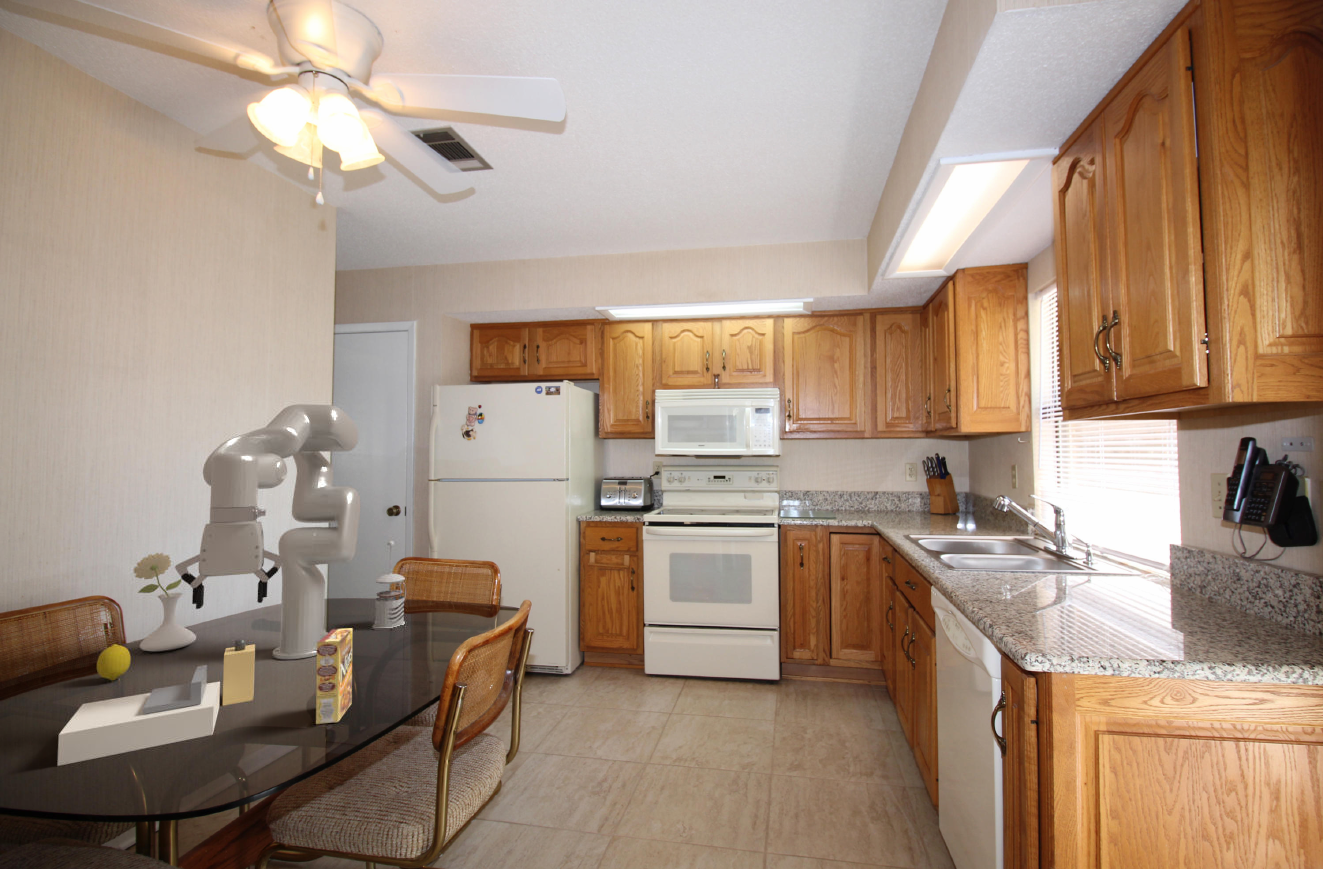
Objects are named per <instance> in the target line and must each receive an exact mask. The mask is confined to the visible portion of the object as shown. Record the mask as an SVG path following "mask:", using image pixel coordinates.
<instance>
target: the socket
mask: <svg viewBox="0 0 1323 869" xmlns="http://www.w3.org/2000/svg"><path fill="white" fill-rule="evenodd" d="M220 691H221V681H215V682H210V683H207V684H206V689H205V692H204V695H203V698H202V702H201V704H197V705H191V706H186V707H180V708H174V709H169V710H163V711H158V712H152V713H146V714H143V707H144V705H145V703H146V702H147V700H148V698H149V696H150V694H151V692H148V693H142V694H135V695H130V696H124V697H117V698H112V699H111V698H110V699H105V700H99V701H98V700H97V701H93V702H87V703H82V704H81V705H80V707H79V708H78V709H77V711H76V712H75V713H74V715H73V716H72V717H71V718H70V720H69V721H68V722H67V723H66V725H65V726H64V727H63V728H62V730H61V731H60V733H58V745H57V746H58V748H57V767H59V766H60V767H61V766H64V765H69V764H74V763H79V762H83V761H89V760H95V759H98V758H104V757H109V756H114V755H119V754H124V753H128V752H129V753H130V752H134V751H139V750H144V749H147V748H153V747H154V748H155V747H158V746H163V745H167V744H169V745H170V744H172V743H177V742H183V741H188V740H193V739H197V738H198V739H199V738H203V737H207V736H213V734H214V730H215V726H216V722H217V719H218V714H219V710H220V698H221V697H220V695H221V694H220V693H221V692H220Z"/></svg>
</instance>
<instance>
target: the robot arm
mask: <svg viewBox="0 0 1323 869" xmlns="http://www.w3.org/2000/svg"><path fill="white" fill-rule="evenodd" d="M358 442H359V430H358V427H357V425H356V423H355V422H354V421H353V420H352V419H351V418H350V416H349V415H348V414H347V413H346V412H345V411H343V409H341V408H339V407H337V406H335V405H332V404H307V403H306V404H305V403H303V404H301V403H299V404H292V405H289V406H287V407H285V408H283V409H282V410H280V411H279V413H278V414H277V415H276V416H275V417H273V419H272V420H271V421H270V422H269V423H268V424H267V425H266V426H265V427H262V428H258V429H255V430H252V431H249V432H247V433H243V434H241V435H238V436H234V437H232V438H228V439H227V440H226V441H224V442H223V443H220V445H218V446H217V447H216V449H214V450H213V451H212V452H211V454H210V455H209V456H208V457H207V458H206V461H205V463H204V464H203V469H202V475H203V480H204V482H205V483H206V484H207V485H208V486H209V487H210V504H209V507H210V508H209V523H205V524H204V527H203V530H202V531H203V532H202V536H201V542H200V549H199V554H196V555H194V556H192V557H190V558H188V559H185V560H183V561H181V562H179V563H177V564H176V565H175V567H174V568H175V570H176V571H177V573H178V575H179V576H180V579H182V580H181V581H184V582H185V583H187V584H188V585H189V586H190V587H191V589H192V599H191V600H192V601H191V603H192V605H195V610H199V609H201V608H203V606H204V603H205V602H204V601H205V600H204V598H205V597H204V596H205V585H204V584H203V582H204V581H205V580H206V579H207V578H208V577H209V578H211V577H224V576H238V575H248V574H249V575H250V574H254V576H256V577H257V578H258V579H259V581H258V583H257V603H258V604H262V603H263V601H264V599H265V598H267V597H268V582H269V581H270V579H272V578H273V576H275V575H276V574H277V573H278V572H279V570H280V568H281V602H280V603H281V604H280V607H281V608H280V610H281V611H280V612H281V613H280V641H279V642H280V643H279V644H280V645H279V646H278V647H276V648H274V650H273V651H272V657H273V658H275V659H278V660H299V659H305V658H311V657H314V656H317V642H318V641H320V640H321V639H322V638H323V637H325V636H326V635H327V634H328V633H329V632H328V631H326V629H325V602H326V598H325V597H326V595H325V594H326V581H325V577H324V575H323V573H322V572H321V570H320V569H319V568H318V567H317V566H318V565H337V564H338V565H339V564H340V565H341V564H345V563H348V562H351V560H352V559H353V558H354V556H355V553H356V549H357V542H358V534H359V527H360V517H361V515H360V514H361V498H360V494H359V493H358V491H357V490H356V489H355V488H353V487H350V486H333V481H334V480H333V479H334V469H333V466H332V464H331V463H330V461H329V460H327V458H326V457H325V456H324V455H323V454H322V452H344V453H345V452H349V451H352V450H354V449H355V448H356V447H357V444H358ZM290 457H292V458H293V459H294V463H295V468H296V478H295V485H294V489H293V495H292V496H293V498H292V504H291V515H292V516H291V517H292V518H293V519H294V520H295V521H297V522H299V523H306V524H321V523H322V524H326V523H327V524H329V523H330V524H331V523H334V524H335V523H336V526H323V527H322V526H309V527H308V526H307V527H296V528H292V529H289V530H287V531H285V532H283V534H282V535H281V536H280V537H279V540H278V554H276V553H273V552H271V551H269V550H265V542H264V541H265V539H264V530H263V528H264V527H263V524H262V521H257V520H258V518H259V517H260V518H261V517H265V516H266V514H267V513H266V512H267V509H266V508H264V509H262V508H259V507H258V493H259V492H258V490H263V489H265V490H266V489H273V488H276V487H278V486H280V485H281V484H282V483H283V482H284V481H285V479H286V477H287V474H288V468H287V466H288V465H287V463H286V462H285V460H284V459H287V458H290ZM265 559H266V560H269V561H272V562H273V566H272V567H271V568H270V569H268V571H265V569H264V568H263V566H264V565H265ZM196 563H198V573H199V575H198V576H197V577H196V576H195V575H193V574H192V573H190V572H189V570H188V567H190V566H193V565H196Z"/></svg>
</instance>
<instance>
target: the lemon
mask: <svg viewBox="0 0 1323 869" xmlns="http://www.w3.org/2000/svg"><path fill="white" fill-rule="evenodd" d="M130 666H131V653H130V651H129V650H128V648H127V647H126V646H124V645H118V644H117V643H113V644H112V645H111V646H108V647H107V648H105V649H103V651H102V652H101V653H100V654H99V656H98V659H97V662H96V671H97V673H98V674H99V676H100V677H102V678H104V679H109V680H110V681H111V682H112V681H116V679H118V678H119V677H121V676H122V675H124V674H125V673H126V672H127V671H128V670H129V668H130Z"/></svg>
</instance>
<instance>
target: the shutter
mask: <svg viewBox="0 0 1323 869" xmlns="http://www.w3.org/2000/svg"><path fill="white" fill-rule="evenodd" d="M207 674H208V665H207V664H204V665H199V666H197V667H196V668H195V671H194V674H193V677H192V679H191V682H190V683H184V684H183V683H182V684H178V685H171V686H165V687H159V688H153V689H152V691H151V692H150V693H151V694H150V696H149V698H148V700H147V702H146V703H145V705H144V707H143V714H146V713H152V712H158V711H163V710H169V709H174V708H180V707H186V706H191V705H197V704H201V702H202V698H203V695H204V692H205V689H206V684H208V683H207V680H208V675H207Z"/></svg>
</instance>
